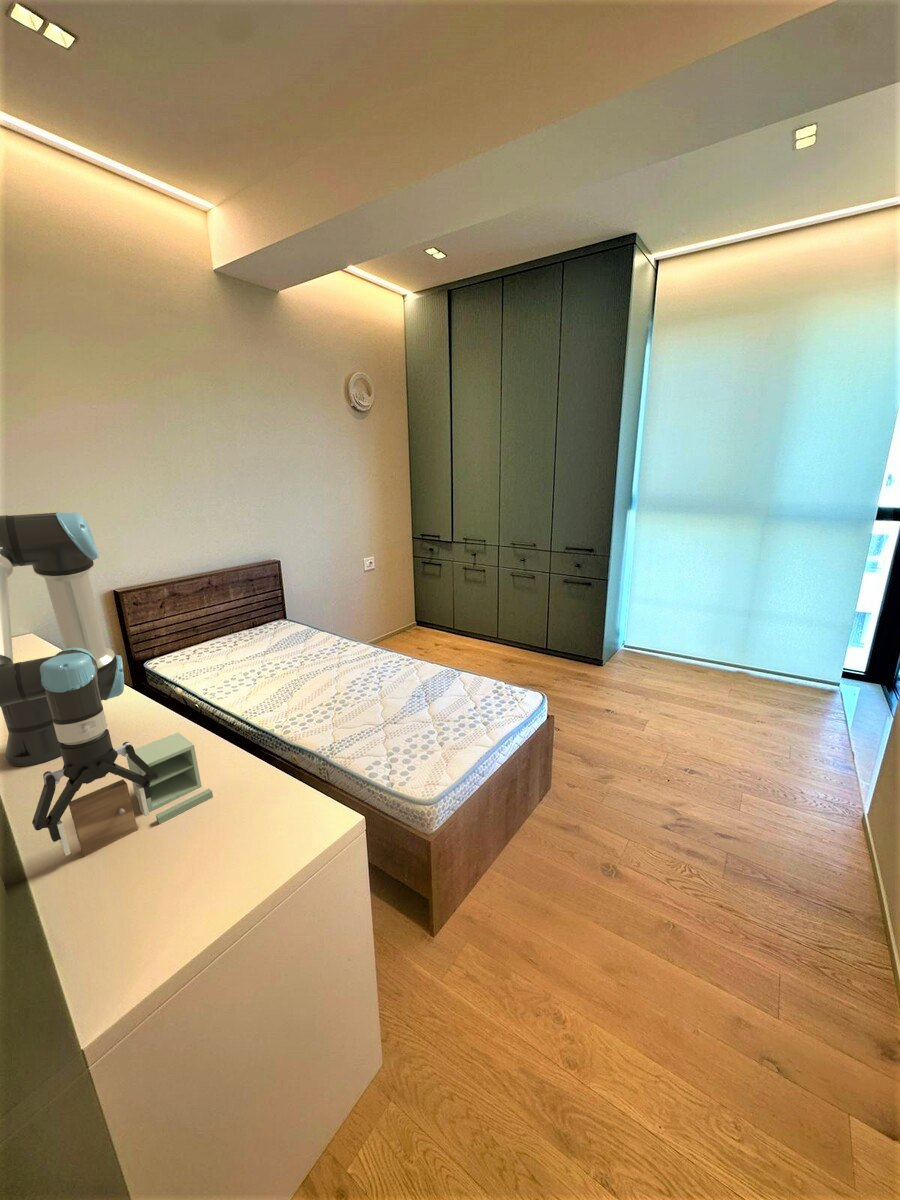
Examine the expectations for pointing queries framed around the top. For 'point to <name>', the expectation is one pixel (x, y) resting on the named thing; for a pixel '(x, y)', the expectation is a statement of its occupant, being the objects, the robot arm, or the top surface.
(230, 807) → the top surface
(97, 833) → the brown boxy piece
